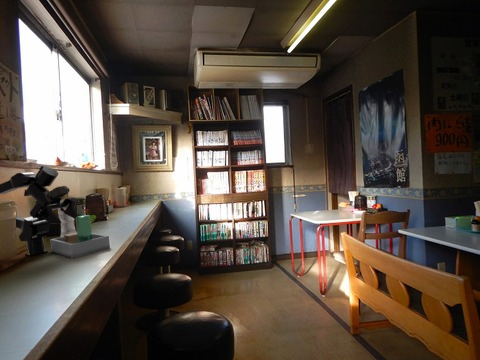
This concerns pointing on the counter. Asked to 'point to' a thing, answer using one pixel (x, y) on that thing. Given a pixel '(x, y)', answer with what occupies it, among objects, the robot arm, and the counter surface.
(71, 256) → the grey tote
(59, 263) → the counter surface
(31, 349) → the counter surface
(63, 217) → the plastic bottle
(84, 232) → the green tall cylinder
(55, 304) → the counter surface
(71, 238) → the walnut block
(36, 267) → the counter surface
